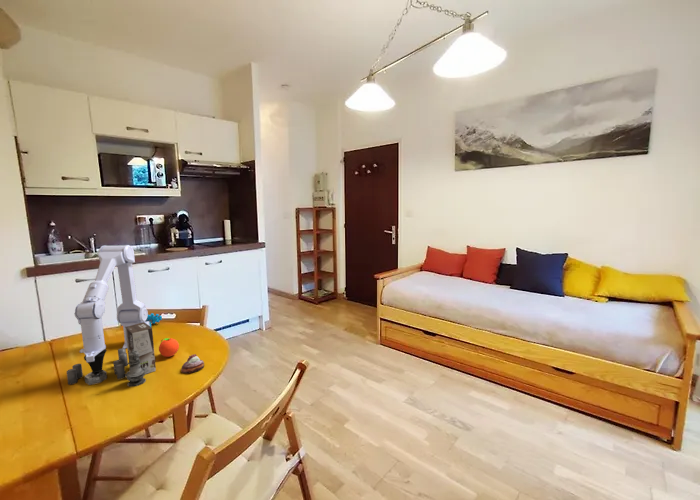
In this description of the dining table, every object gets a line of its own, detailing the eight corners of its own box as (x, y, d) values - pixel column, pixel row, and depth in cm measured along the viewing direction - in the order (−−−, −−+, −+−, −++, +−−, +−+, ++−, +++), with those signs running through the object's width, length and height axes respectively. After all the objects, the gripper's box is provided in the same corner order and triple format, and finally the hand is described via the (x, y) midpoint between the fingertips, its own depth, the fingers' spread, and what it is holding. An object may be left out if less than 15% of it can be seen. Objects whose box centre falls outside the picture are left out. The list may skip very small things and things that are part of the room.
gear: (165, 318, 164) (157, 310, 156) (164, 329, 161) (157, 321, 153) (140, 323, 161) (131, 315, 153) (140, 335, 158) (130, 327, 150)
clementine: (153, 357, 127) (151, 340, 126) (169, 350, 133) (167, 333, 132) (168, 361, 124) (166, 343, 123) (183, 353, 130) (182, 336, 129)
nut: (108, 374, 115) (107, 368, 114) (105, 381, 110) (104, 375, 110) (87, 378, 112) (86, 372, 112) (83, 386, 107) (82, 379, 107)
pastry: (198, 361, 124) (197, 349, 124) (209, 367, 120) (208, 354, 119) (177, 370, 118) (176, 357, 117) (187, 377, 114) (186, 363, 113)
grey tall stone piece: (124, 389, 106) (120, 354, 104) (127, 380, 111) (123, 347, 109) (146, 384, 109) (142, 350, 107) (147, 376, 114) (144, 343, 112)
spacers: (131, 357, 127) (130, 346, 126) (125, 378, 112) (123, 366, 112) (78, 367, 120) (76, 355, 119) (63, 390, 105) (62, 378, 104)
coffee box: (156, 370, 117) (152, 327, 115) (136, 377, 113) (131, 333, 110) (148, 362, 124) (144, 321, 121) (129, 368, 119) (124, 326, 116)
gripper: (84, 330, 117) (88, 365, 119) (72, 346, 104) (77, 385, 106) (108, 326, 120) (112, 361, 122) (99, 341, 107) (104, 380, 109)
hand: (97, 372), depth 114 cm, fingers closed
